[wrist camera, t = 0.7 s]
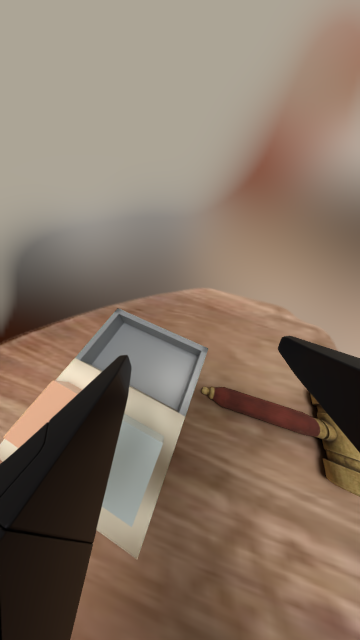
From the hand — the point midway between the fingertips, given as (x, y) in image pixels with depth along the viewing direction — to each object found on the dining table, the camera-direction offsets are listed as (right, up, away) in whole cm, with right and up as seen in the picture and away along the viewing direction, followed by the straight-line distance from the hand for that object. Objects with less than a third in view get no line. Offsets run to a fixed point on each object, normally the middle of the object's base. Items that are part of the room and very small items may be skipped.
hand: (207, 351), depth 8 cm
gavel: (+12, -12, +12) cm, 21 cm away
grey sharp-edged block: (-7, -12, +6) cm, 15 cm away
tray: (-7, -5, +14) cm, 16 cm away
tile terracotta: (-14, -9, +7) cm, 18 cm away
